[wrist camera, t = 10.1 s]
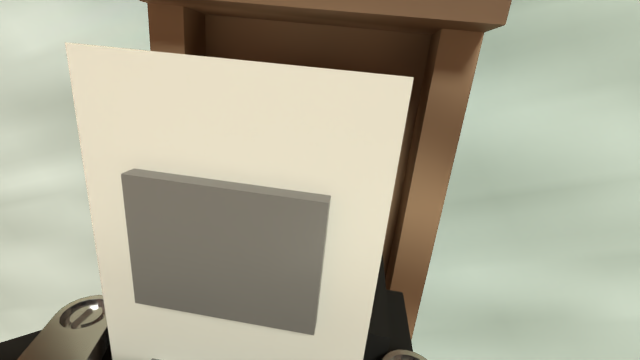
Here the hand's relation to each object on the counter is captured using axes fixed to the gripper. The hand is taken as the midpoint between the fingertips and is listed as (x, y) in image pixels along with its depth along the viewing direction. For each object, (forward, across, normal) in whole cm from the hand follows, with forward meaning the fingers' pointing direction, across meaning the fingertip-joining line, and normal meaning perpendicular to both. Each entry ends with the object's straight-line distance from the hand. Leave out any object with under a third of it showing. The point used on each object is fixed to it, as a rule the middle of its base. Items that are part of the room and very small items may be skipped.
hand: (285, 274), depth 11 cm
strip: (+1, 0, 0) cm, 1 cm away
